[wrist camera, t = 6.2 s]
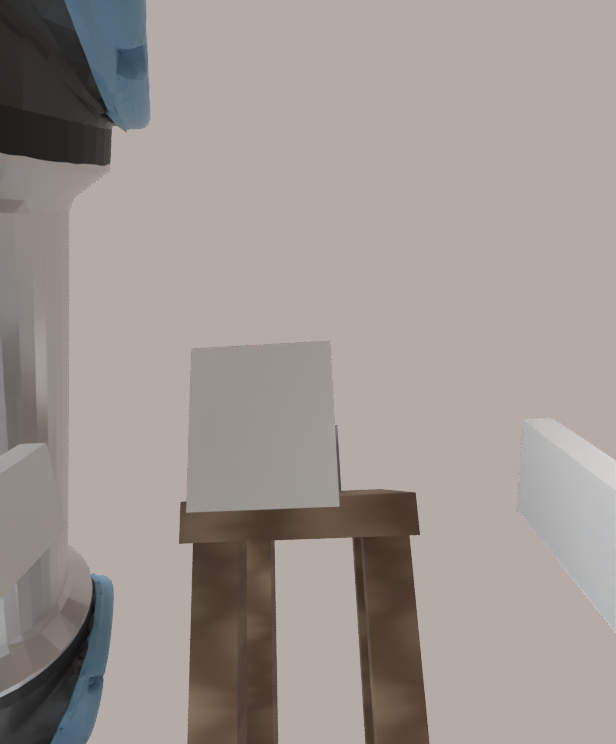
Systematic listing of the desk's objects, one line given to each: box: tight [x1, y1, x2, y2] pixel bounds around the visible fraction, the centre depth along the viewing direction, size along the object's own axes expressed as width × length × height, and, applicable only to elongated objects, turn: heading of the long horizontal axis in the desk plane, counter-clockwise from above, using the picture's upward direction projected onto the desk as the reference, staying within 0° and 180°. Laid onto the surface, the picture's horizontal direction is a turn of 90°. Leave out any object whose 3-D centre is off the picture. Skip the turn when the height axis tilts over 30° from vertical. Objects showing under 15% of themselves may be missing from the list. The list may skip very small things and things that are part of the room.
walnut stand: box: [179, 489, 429, 744], centre depth 26 cm, size 12×16×28 cm
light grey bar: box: [186, 341, 341, 513], centre depth 25 cm, size 5×27×5 cm, turn 177°
